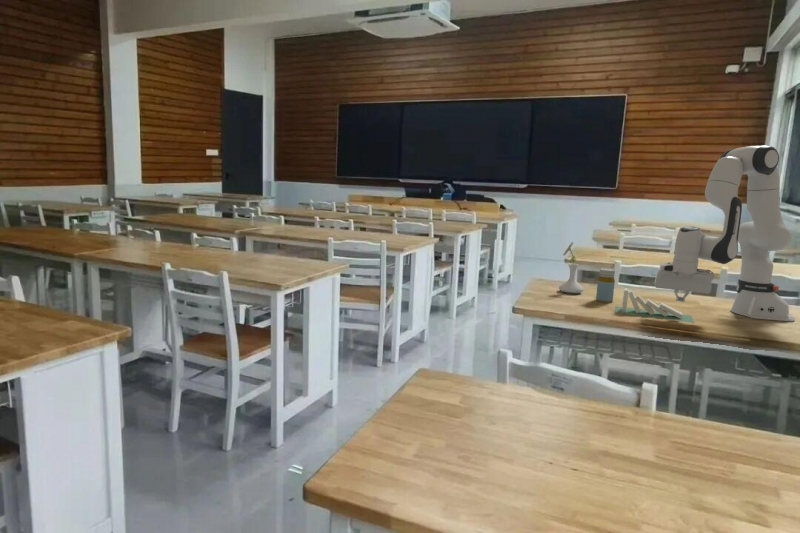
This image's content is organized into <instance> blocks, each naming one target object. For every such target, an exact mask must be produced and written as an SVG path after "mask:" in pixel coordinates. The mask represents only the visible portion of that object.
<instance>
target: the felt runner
mask: <svg viewBox="0 0 800 533" xmlns="http://www.w3.org/2000/svg"><path fill="white" fill-rule="evenodd" d="M614 313H615V314H622V315H630V316H639V317H647V318H655V319H661V320H662V319H663V320H668V321H677V322H687V323H693V324H695V321H694V318H693V316H692V315H690V314H683V313H682V314H683V316H682V318H681V319H680V318H678V317H676V316H674V315H672V314H670V313H668V314H667V316H666V317H665V316H663V315H662V314H660V313H659V312H657V311H656V310H654V313H653V314H652V315H650V314H649V313H648V312H647V311H646V310H645V309H644V308H643V309H641V308H640V312H639V313H636V311H635V309H634V307H627V309H626V312H622V306H618V305H616V306H615V308H614Z"/></svg>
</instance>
